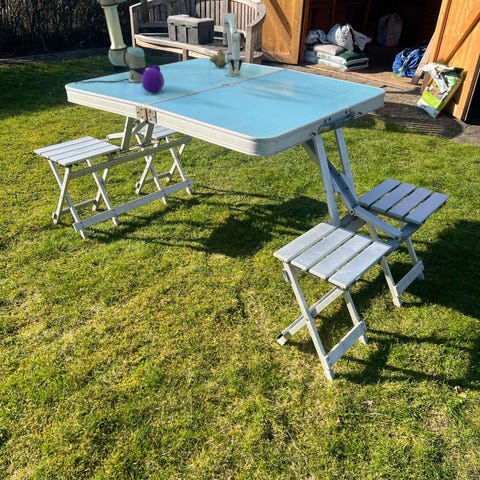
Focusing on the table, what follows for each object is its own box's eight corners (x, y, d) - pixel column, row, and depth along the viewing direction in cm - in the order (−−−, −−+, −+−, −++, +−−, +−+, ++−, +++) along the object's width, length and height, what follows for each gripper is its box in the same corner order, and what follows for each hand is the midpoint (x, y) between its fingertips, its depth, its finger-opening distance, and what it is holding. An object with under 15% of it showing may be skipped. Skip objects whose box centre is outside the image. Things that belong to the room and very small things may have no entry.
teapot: (213, 69, 375) (212, 50, 367) (207, 67, 383) (206, 48, 376) (235, 67, 384) (235, 48, 376) (229, 65, 392) (228, 46, 385)
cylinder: (236, 72, 338) (236, 66, 336) (239, 72, 335) (239, 66, 333) (232, 72, 335) (232, 67, 333) (236, 73, 333) (236, 67, 331)
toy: (156, 85, 322) (164, 98, 301) (131, 81, 314) (137, 93, 294) (160, 63, 314) (168, 74, 293) (135, 58, 306) (141, 69, 286)
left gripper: (144, -8, 339) (147, 23, 349) (151, -9, 360) (154, 21, 371) (134, -8, 339) (138, 23, 350) (141, -8, 360) (145, 21, 371)
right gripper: (226, 52, 324) (227, 72, 330) (246, 51, 325) (246, 71, 332) (225, 51, 330) (226, 70, 336) (244, 50, 331) (245, 69, 338)
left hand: (146, 22), depth 360 cm, fingers open, 13 cm apart
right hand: (236, 70), depth 335 cm, fingers closed on cylinder, 4 cm apart
